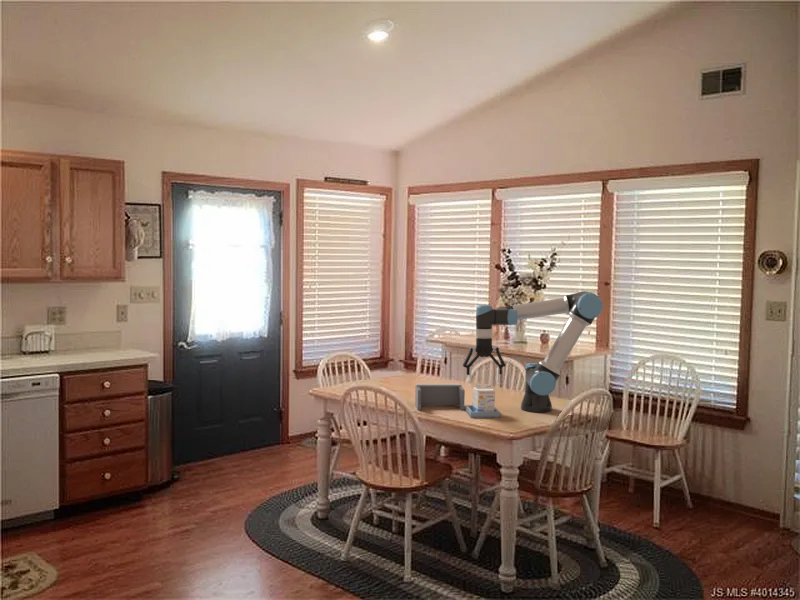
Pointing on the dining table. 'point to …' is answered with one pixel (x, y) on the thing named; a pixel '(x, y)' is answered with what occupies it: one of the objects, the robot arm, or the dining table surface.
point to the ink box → (483, 398)
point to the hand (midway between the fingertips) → (484, 381)
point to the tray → (482, 413)
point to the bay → (439, 395)
